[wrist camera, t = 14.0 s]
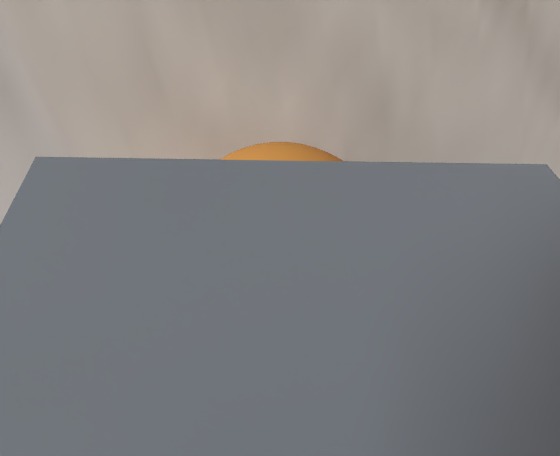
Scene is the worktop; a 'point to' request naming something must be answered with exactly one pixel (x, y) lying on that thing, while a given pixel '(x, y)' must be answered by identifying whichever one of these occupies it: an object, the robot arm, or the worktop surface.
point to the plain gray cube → (280, 309)
